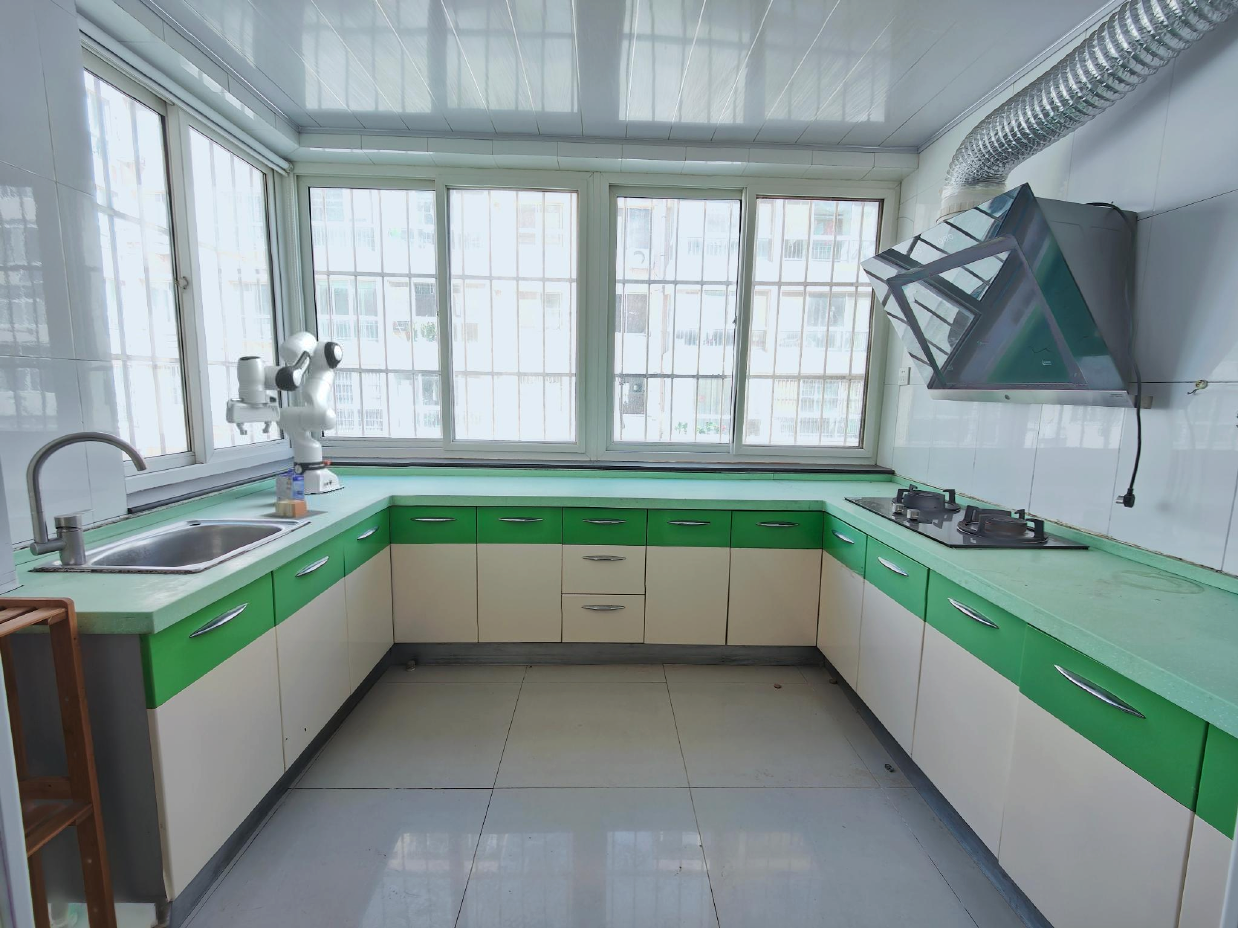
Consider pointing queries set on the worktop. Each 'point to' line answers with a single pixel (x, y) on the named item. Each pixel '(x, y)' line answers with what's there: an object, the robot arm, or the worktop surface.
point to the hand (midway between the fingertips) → (255, 434)
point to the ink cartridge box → (290, 486)
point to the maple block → (290, 508)
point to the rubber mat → (309, 514)
